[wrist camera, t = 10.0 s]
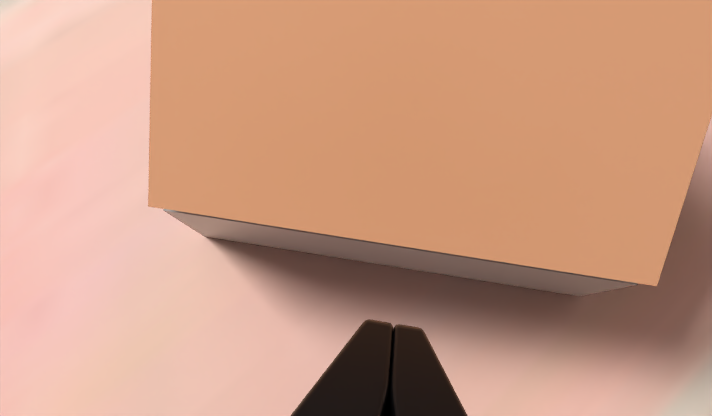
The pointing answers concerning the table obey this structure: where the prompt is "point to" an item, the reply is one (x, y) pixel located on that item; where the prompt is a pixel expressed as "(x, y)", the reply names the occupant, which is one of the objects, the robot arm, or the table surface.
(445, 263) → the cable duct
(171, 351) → the table surface
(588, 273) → the duct cover
